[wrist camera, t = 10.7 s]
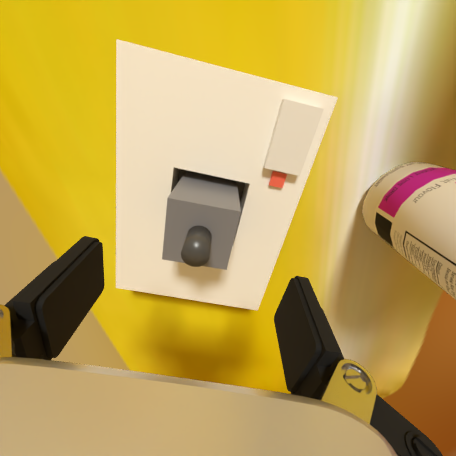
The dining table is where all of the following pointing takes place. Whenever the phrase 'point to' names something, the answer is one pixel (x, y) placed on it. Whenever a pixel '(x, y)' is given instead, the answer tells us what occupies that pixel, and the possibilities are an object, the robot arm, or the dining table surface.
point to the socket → (208, 167)
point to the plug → (201, 221)
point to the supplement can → (417, 218)
